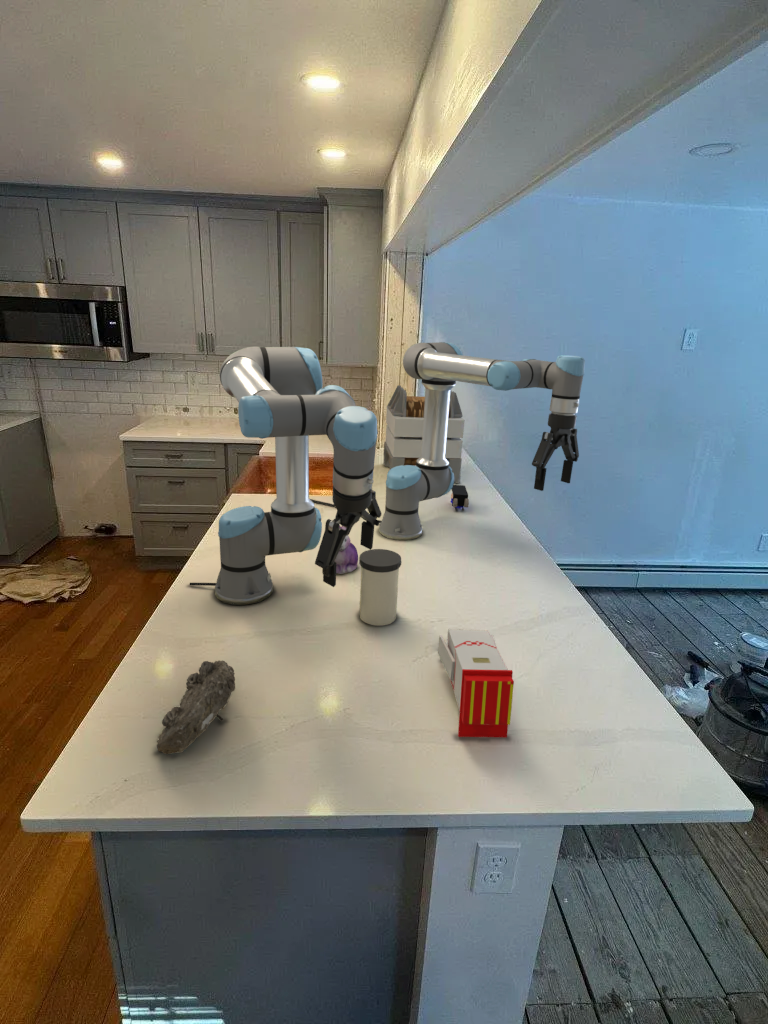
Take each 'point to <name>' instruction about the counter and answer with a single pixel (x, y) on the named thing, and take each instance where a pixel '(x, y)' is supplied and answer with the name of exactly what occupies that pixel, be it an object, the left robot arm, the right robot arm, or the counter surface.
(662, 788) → the counter surface
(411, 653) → the counter surface
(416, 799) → the counter surface
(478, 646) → the toy
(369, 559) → the lid
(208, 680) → the fossil
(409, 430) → the white wooden crate
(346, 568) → the figurine
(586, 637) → the counter surface
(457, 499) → the figurine character
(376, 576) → the jar
